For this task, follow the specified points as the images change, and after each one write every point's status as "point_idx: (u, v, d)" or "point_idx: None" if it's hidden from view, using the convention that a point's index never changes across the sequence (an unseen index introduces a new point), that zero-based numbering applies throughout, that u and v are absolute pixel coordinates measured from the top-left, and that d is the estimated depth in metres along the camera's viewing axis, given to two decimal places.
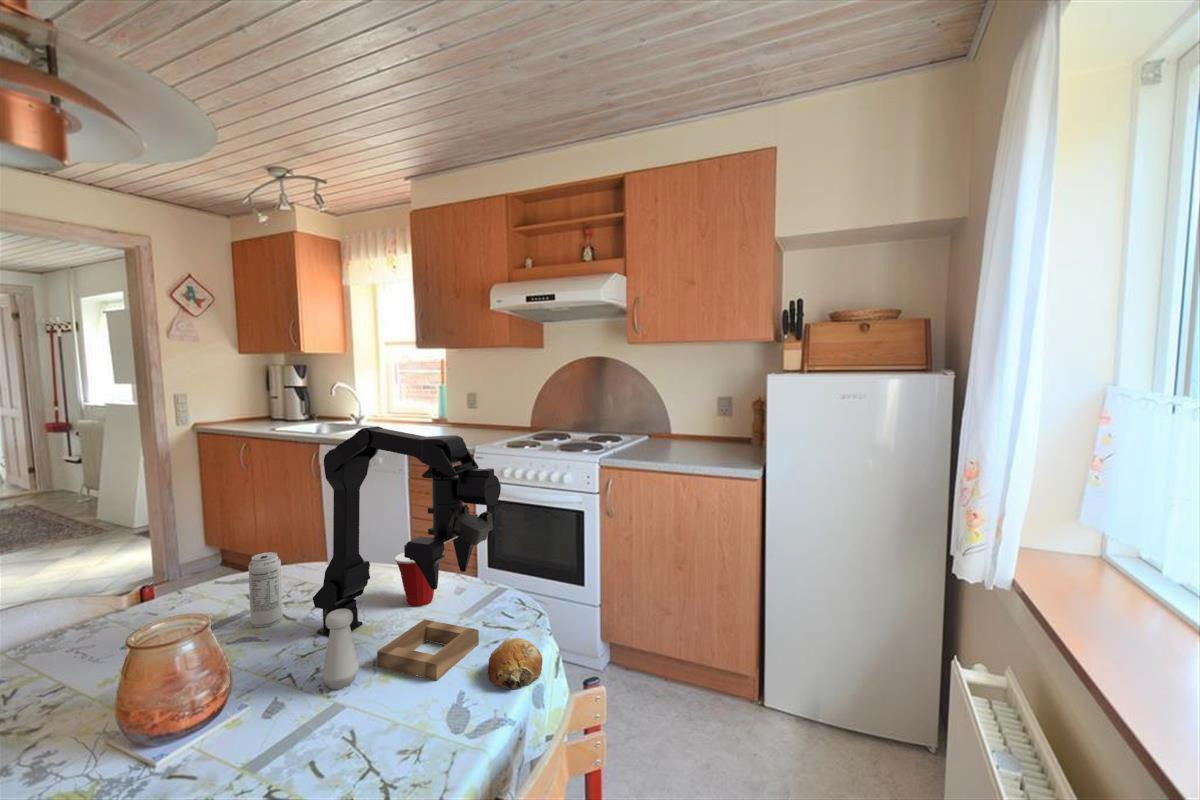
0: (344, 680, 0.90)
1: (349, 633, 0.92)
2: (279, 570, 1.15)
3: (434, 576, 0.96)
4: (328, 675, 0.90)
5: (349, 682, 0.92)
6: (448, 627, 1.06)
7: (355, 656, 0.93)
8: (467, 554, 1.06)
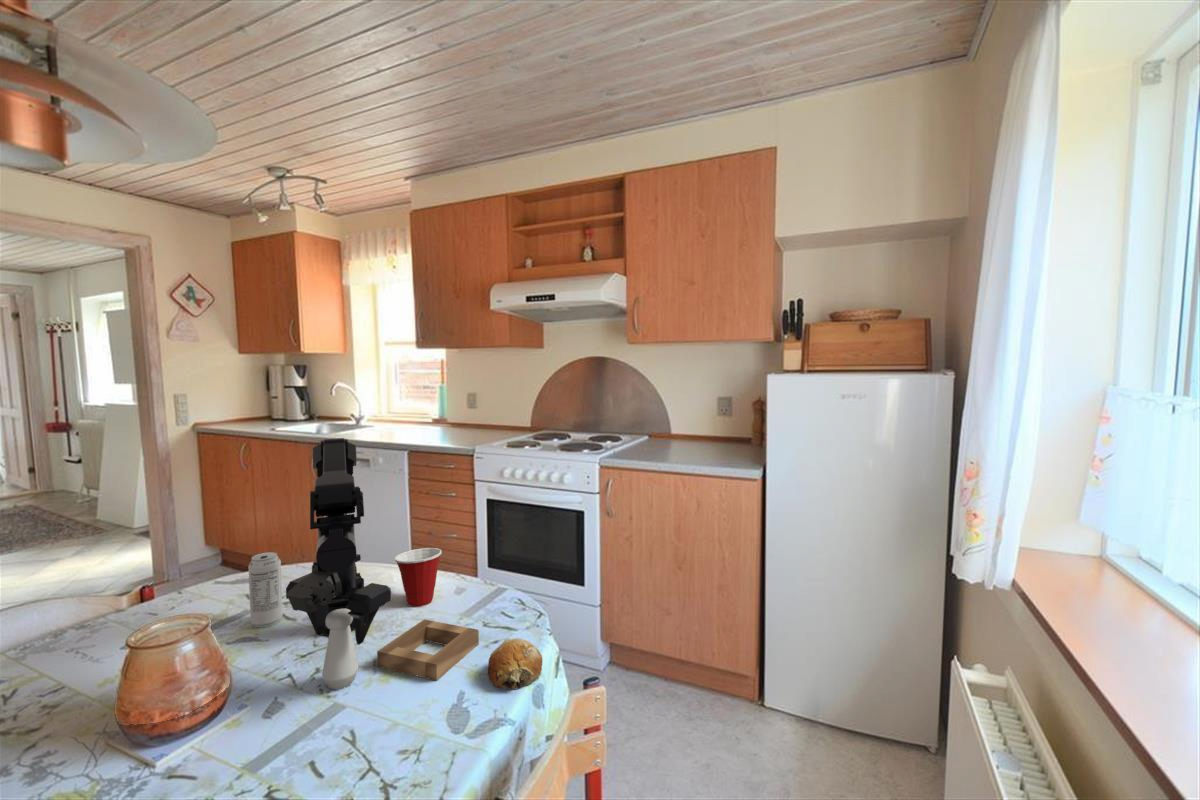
0: (344, 680, 0.90)
1: (349, 633, 0.92)
2: (279, 570, 1.15)
3: None
4: (328, 675, 0.90)
5: (349, 682, 0.92)
6: (448, 627, 1.06)
7: (355, 656, 0.93)
8: None
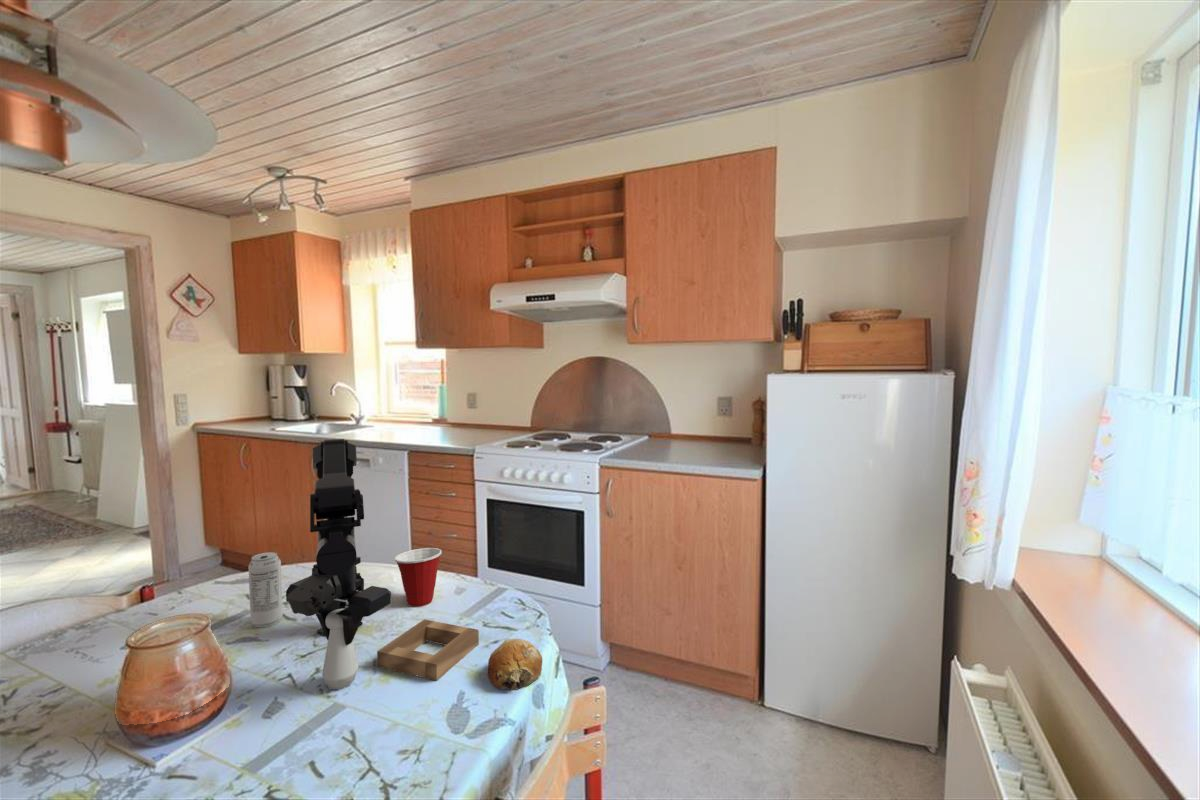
0: (344, 680, 0.90)
1: None
2: (279, 570, 1.15)
3: None
4: (328, 675, 0.90)
5: (349, 682, 0.92)
6: (448, 627, 1.06)
7: (355, 656, 0.93)
8: None
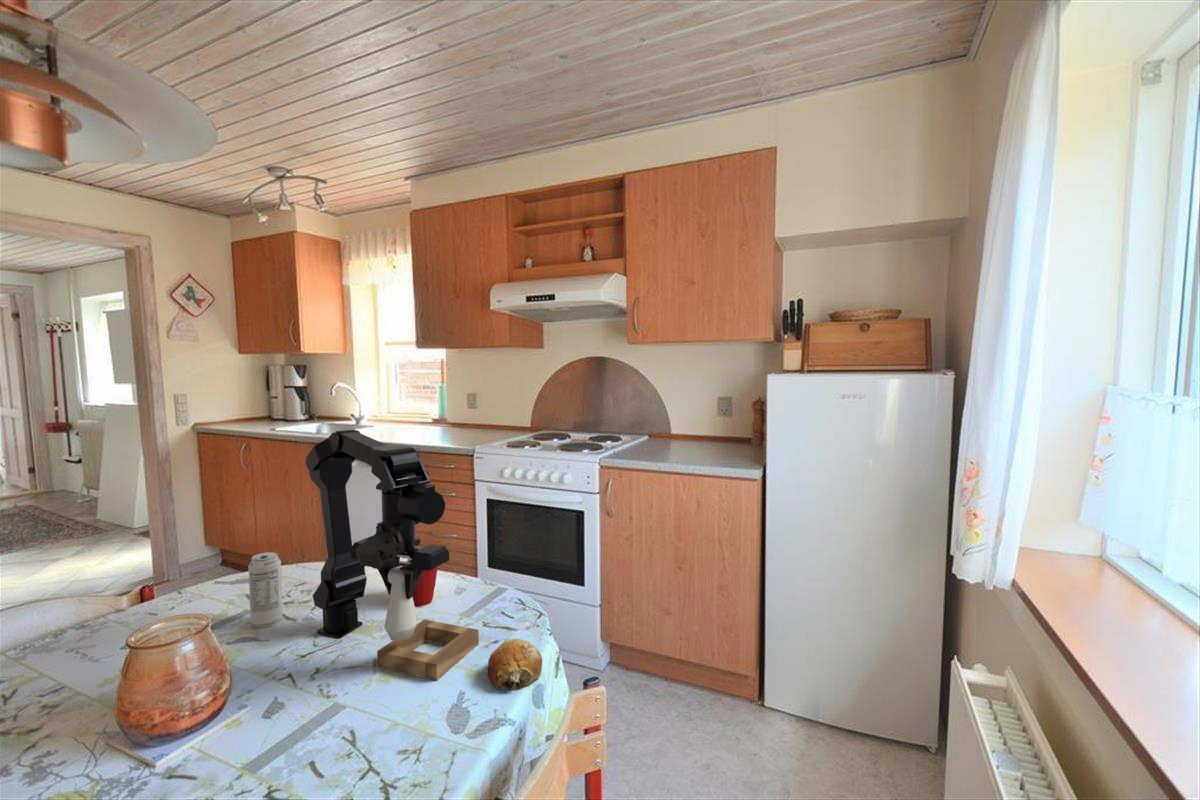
0: (405, 632, 0.96)
1: None
2: (279, 570, 1.15)
3: None
4: (390, 627, 0.96)
5: (409, 634, 0.97)
6: (448, 627, 1.06)
7: (414, 611, 0.99)
8: None
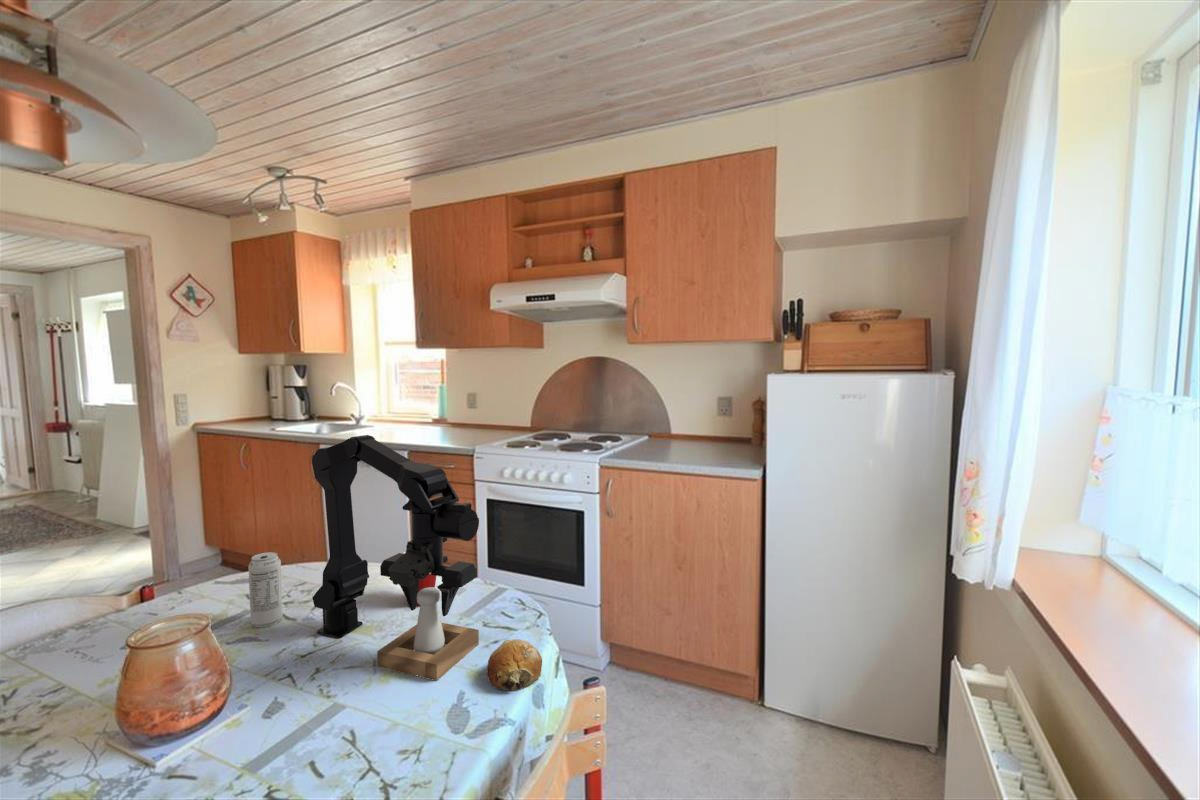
0: (434, 651, 0.99)
1: (437, 609, 1.02)
2: (279, 570, 1.15)
3: None
4: (420, 647, 0.99)
5: None
6: (448, 627, 1.06)
7: (442, 630, 1.02)
8: None
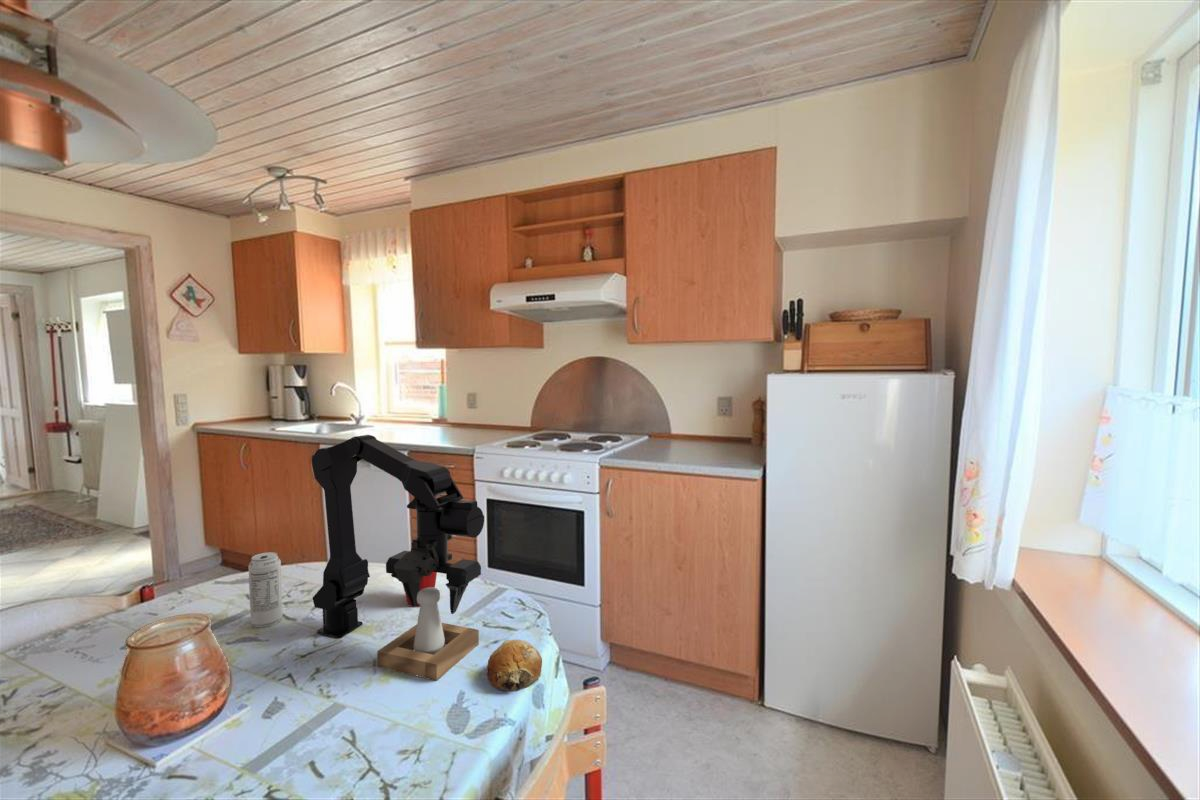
0: (434, 651, 0.99)
1: (437, 609, 1.02)
2: (279, 570, 1.15)
3: None
4: (420, 647, 0.99)
5: None
6: (448, 627, 1.06)
7: (442, 630, 1.02)
8: None
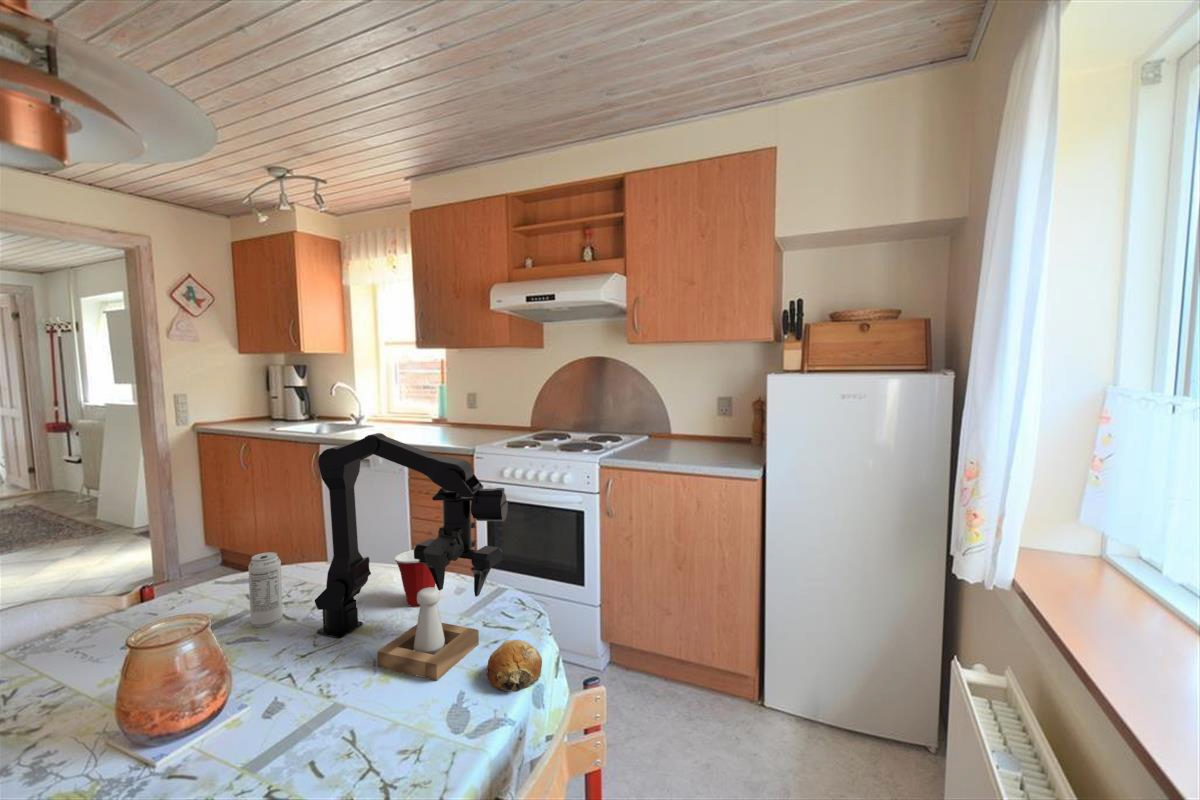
0: (434, 651, 0.99)
1: (437, 609, 1.02)
2: (279, 570, 1.15)
3: None
4: (420, 647, 0.99)
5: None
6: (448, 627, 1.06)
7: (442, 630, 1.02)
8: None
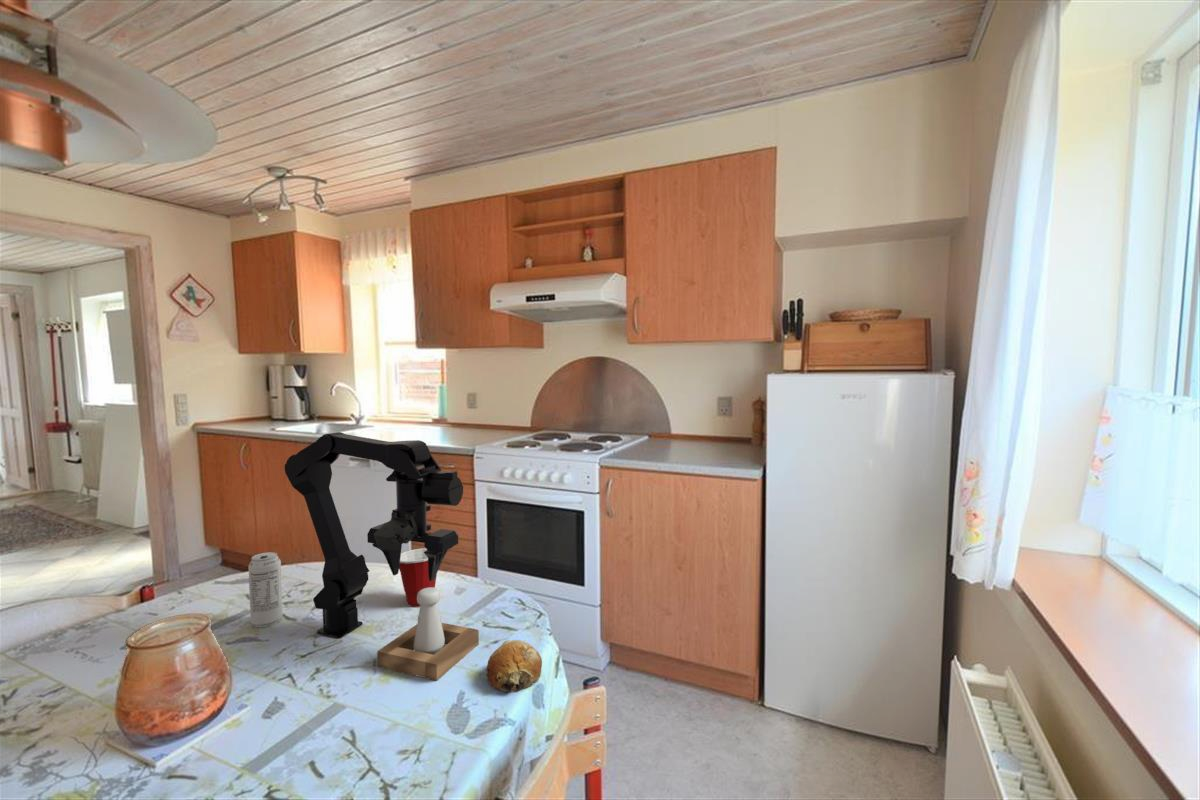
0: (434, 651, 0.99)
1: (437, 609, 1.02)
2: (279, 570, 1.15)
3: None
4: (420, 647, 0.99)
5: None
6: (448, 627, 1.06)
7: (442, 630, 1.02)
8: None
